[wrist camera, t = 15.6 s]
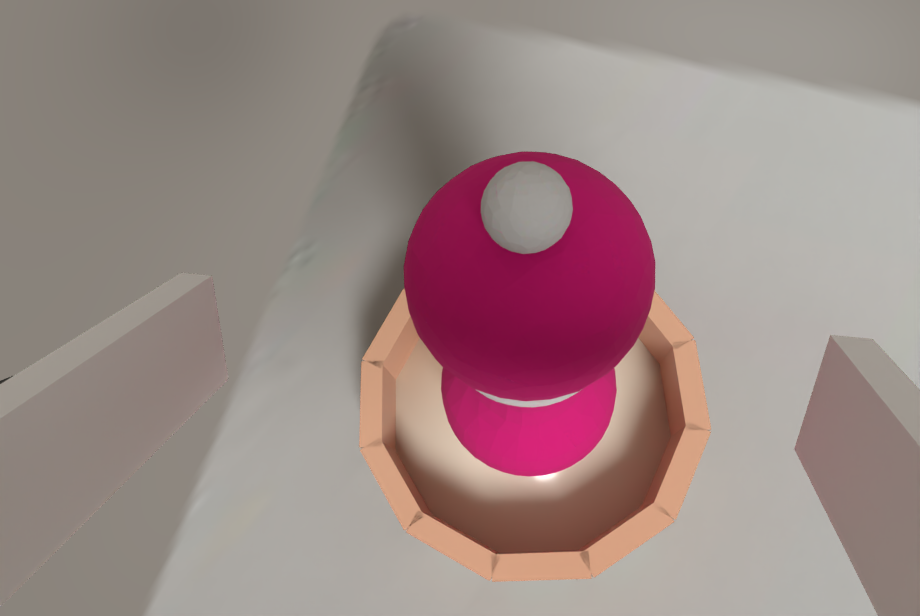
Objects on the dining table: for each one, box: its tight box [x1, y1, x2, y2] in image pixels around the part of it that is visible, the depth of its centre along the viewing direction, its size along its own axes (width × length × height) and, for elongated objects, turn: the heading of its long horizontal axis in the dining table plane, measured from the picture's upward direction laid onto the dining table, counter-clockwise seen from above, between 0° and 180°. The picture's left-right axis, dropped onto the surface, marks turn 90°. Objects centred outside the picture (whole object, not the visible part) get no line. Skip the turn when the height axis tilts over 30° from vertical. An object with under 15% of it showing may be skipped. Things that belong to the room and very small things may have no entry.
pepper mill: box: [404, 152, 655, 477], centre depth 20 cm, size 7×7×20 cm
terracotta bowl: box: [359, 289, 711, 582], centre depth 29 cm, size 15×15×4 cm
